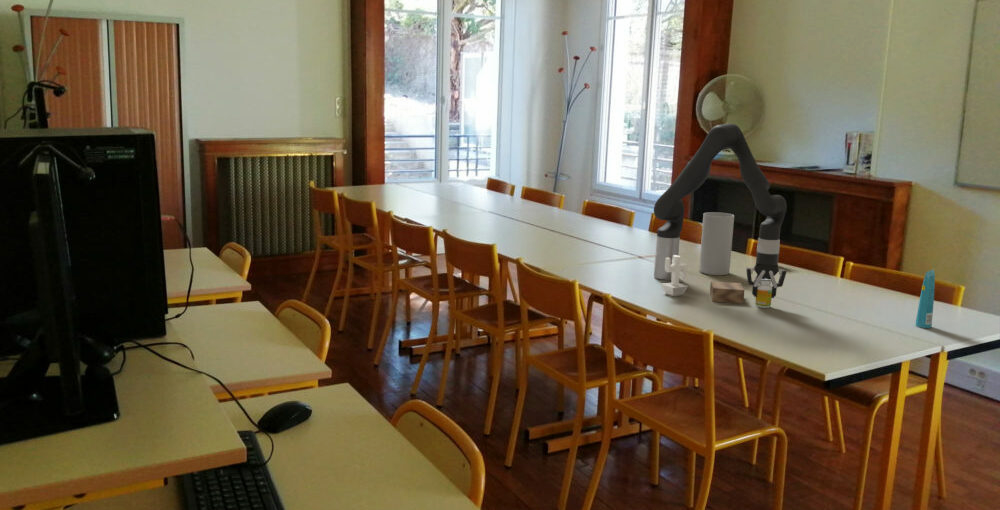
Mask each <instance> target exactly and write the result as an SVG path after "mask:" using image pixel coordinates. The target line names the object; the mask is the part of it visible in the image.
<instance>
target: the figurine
mask: <svg viewBox="0 0 1000 510" xmlns="http://www.w3.org/2000/svg"><path fill="white" fill-rule="evenodd" d="M681 258H682V257H681V256H680V255H679V256H678V255H673V259H672V265H671V259H670V258H666V259H665V271H666V272H672V277H671V280H670V281H671V282H664V283H663V282H662V283H661V286H662V288H663V291H664V293H665V294H667V295H668V296H672V297H679V296H683V295H684V293H685V292H686V290H687V289H688V288H689V286H688V285H685V284H683V283H680V277H681V278H683V279H686V278H687V271H688V268H687V267H688V266H687V264H686V263H681Z"/></svg>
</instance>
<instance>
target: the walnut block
mask: <svg viewBox="0 0 1000 510" xmlns="http://www.w3.org/2000/svg"><path fill="white" fill-rule="evenodd" d="M709 285H710V286H709V295H710V299H711V301H712V302H715V303H733V304H744V301H745V300H744V299H745V288H744V287H743V285H742V283H740V282H727V281H725V282H724V281H710V284H709Z"/></svg>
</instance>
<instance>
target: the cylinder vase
mask: <svg viewBox="0 0 1000 510" xmlns="http://www.w3.org/2000/svg"><path fill="white" fill-rule="evenodd" d="M702 217H703V218H702V228H701V229H702V230H701V243H700V256H699V265H698V267H699V268H698V269H699V272H700V273H701V274H704V275H709V276H718V277H719V276H726V275H729V274H730V270H731V259H732V248H733V237H734V236H733V234H734V225H735V224H734V222H735V215H734V214H733V213H727V212H718V211H717V212H716V211H715V212H714V211H711V212H704V213H703V216H702Z"/></svg>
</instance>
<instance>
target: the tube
mask: <svg viewBox="0 0 1000 510" xmlns="http://www.w3.org/2000/svg"><path fill="white" fill-rule="evenodd" d="M935 277H936V275H935V269H932V270H929V271H926V272H925V274H924V278H923V283H922V286H921V292H920V296H919V301H918V307H917V314H916V319H915V326H916V327H918V328H922V329H931V328H932V324H933V314H934V302H935V288H936V287H935V284H936V281H935V279H936V278H935Z"/></svg>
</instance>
